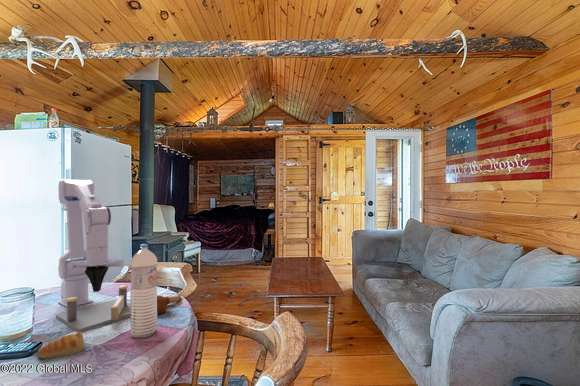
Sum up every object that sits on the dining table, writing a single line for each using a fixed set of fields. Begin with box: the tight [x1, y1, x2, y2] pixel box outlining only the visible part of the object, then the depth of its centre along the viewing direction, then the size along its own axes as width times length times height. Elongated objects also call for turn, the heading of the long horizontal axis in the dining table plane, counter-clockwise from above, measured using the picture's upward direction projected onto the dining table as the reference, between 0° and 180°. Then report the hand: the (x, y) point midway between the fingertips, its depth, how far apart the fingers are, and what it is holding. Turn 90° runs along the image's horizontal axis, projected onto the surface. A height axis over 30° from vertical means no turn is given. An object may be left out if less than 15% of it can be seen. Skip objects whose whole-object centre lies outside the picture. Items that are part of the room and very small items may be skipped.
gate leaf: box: [111, 295, 124, 320], centre depth 101 cm, size 12×2×4 cm, turn 18°
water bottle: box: [129, 243, 158, 339], centre depth 90 cm, size 7×7×25 cm
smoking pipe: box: [157, 293, 182, 315], centre depth 112 cm, size 7×18×6 cm, turn 178°
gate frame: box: [55, 284, 131, 333], centre depth 103 cm, size 18×19×8 cm
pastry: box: [37, 331, 86, 360], centre depth 79 cm, size 9×7×4 cm
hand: (97, 290), depth 98 cm, fingers closed
